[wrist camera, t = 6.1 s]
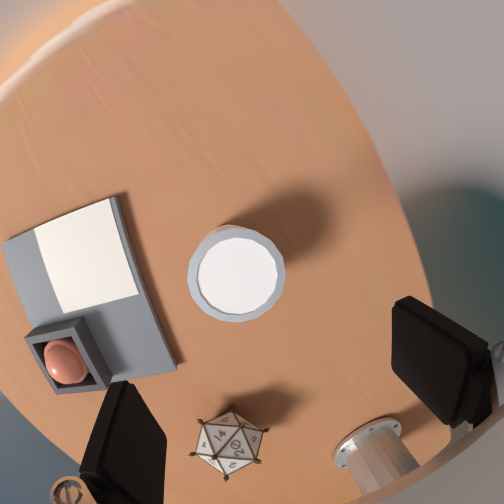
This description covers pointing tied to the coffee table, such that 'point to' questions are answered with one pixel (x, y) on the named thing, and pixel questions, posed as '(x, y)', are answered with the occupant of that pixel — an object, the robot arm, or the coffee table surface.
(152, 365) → the board
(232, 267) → the shot glass
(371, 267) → the coffee table surface
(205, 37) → the coffee table surface
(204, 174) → the coffee table surface
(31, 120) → the coffee table surface
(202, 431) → the game die
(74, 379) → the dome
